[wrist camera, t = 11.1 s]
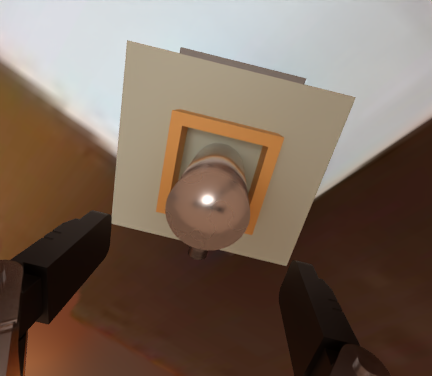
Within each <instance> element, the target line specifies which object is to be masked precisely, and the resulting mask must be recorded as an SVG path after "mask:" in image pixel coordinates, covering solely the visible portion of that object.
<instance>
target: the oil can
mask: <svg viewBox="0 0 432 376" xmlns="http://www.w3.org/2000/svg"><path fill="white" fill-rule="evenodd" d="M165 214H166V219H167V222H168V225H169V227H170V229H171V230H172V232H173V233H174V234H175V235H176V237H178V238H179V239H180V240H181V241H182V242H184V243H185V244H187V245H189V251H188V254H189V256H190V257H192V258H193V259H196V260H202V259H204V258H206V255H207V251H208V250H219V249H223V248H226V247H228V246H230V245H232V244H234V243H235V242H236V241H238V240H239V239H240V238H241V237H242V235H243V234H244V233H245V231H246V229H247V227H248V225H249V221H250V206H249V199H248V192H247V185H246V178H245V171H244V164H243V160H242V158H241V156H240V154H239V153H238V152H237V151H236V150H235V149H234V148H233V147H231V146H229V145H227V144H223V143H212V144H209V145H207V146H205V147H203V148H202V149H201V150H200V151H199V152H198V153H197V154H196V156H195V157H194V159H193V160H192V162H191V163H190V164H189V166H188V167H187V169H186V170H185V172H184V173H183V174H182V176H181V177H180V179H179V180H178V182H177V183H176V184H175V186H174V187H173V189H172V190H171V192H170V194H169V196H168V198H167V201H166V207H165Z"/></svg>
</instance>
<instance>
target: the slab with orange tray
mask: <svg viewBox="0 0 432 376" xmlns="http://www.w3.org/2000/svg"><path fill="white" fill-rule="evenodd" d="M305 80H306V78H302V77H298V76H294V75H290V74H286V73H282V72H278V71H274V70H270V69H266V68H262V67H258V66H254V65H250V64H246V63H242V62H238V61H234V60H230V59H226V58H222V57H218V56H214V55H210V54H206V53H202V52H198V51H194V50H190V49H186V48H182V47H181V48H180V53H176V52H172V51H168V50H164V49H160V48H156V47H152V46H148V45H144V44H140V43H136V42H132V41H128V40H127V49H126V60H125V71H124V83H123V94H122V106H121V117H120V128H119V140H118V151H117V163H116V174H115V185H114V197H113V208H112V224H116V225H120V226H124V227H128V228H132V229H136V230H140V231H145V232H149V233H153V234H157V235H161V236H165V237H169V238H173V239H177V240H180V239H179V238H178V237H176V235H175V234H174V233H173V232H172V230H171V229H170V227H169V225H168V222H167V219H166V214H165V207H166V201H167V198H168V196H169V194H170V192H171V190H172V189H173V187H174V186H175V184H176V183H177V182H178V180H179V179H180V177H181V176H182V174H183V173H184V172H185V170H186V169H187V167H188V166H189V164H190V163H191V162H192V160H193V159H194V157H195V156H196V154H197V153H198V152H199V151H200V150H201V149H202V148H203V147H205V146H207V145H209V144H212V143H223V144H227V145H229V146H231V147H233V148H234V149H235V150H236V151H237V152H238V153H239V154H240V156H241V158H242V160H243V164H244V171H245V178H246V185H247V192H248V199H249V206H250V221H249V225H248V227H247V229H246V231H245V233H244V234H243V235H242V237H241V238H240V239H239V240H238V241H236V242H235V243H234V244H232V245H230V246H228V247H226V248H223V249H219V250H223V251H227V252H231V253H235V254H239V255H243V256H247V257H251V258H255V259H260V260H264V261H268V262H272V263H276V264H280V265H284V266H287V264H288V261H289V259H290V256H291V254H292V251H293V249H294V246H295V244H296V242H297V239H298V237H299V234H300V232H301V229H302V227H303V225H304V222H305V220H306V217H307V215H308V212H309V210H310V208H311V205H312V203H313V200H314V198H315V195H316V193H317V190H318V188H319V186H320V183H321V181H322V178H323V176H324V173H325V171H326V169H327V166H328V164H329V161H330V159H331V156H332V154H333V151H334V149H335V147H336V144H337V142H338V139H339V137H340V134H341V132H342V130H343V127H344V125H345V122H346V120H347V117H348V115H349V113H350V110H351V108H352V105H353V103H354V100H355V98H356V97H352V96H348V95H344V94H340V93H336V92H332V91H328V90H324V89H320V88H316V87H312V86H308V85H304V83H305Z"/></svg>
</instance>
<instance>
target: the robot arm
mask: <svg viewBox="0 0 432 376" xmlns="http://www.w3.org/2000/svg"><path fill="white" fill-rule="evenodd" d="M111 223H112V217H111V215H110V214H105V213H101V212H97V211H90V212H89V213H88V214H86V215H85V216H84V217H82V218H81V219H73V220H71V221H68V222H65V223H63V224H61V225H60V226H58V227H57V228H55V229H54V230H53V231H52V232H50V233H48V234H47V235H45V236H44V238H41V239H40V240H38V241H37V242H35V243H34V244H32V245H31V246H30V247H28V248H27V249H25V250H24V251H22V252H21V253H20V254H18V255H17V256H15V257H14V258H12V259H11V260H0V376H25V366H26V353H27V340H28V329H29V328H30V327H31V326H32V325H33V324H34V323H35V321H36V322H40V323H45V324H49V323H50V322H51V321H52V320H53V318H55V316H56V315H57V314H58V313H59V312H60V311H61V309H62V308H63V307H64V306H65V305H66V303H67V302H68V301H69V300H70V299H71V298H72V296H73V295H74V294H75V293H76V292H77V290H78V289H79V288H80V287H81V286H82V285H83V283H84V282H85V281H86V280H87V279H88V277H89V276H90V275H91V274H92V273H93V272H94V270H95V269H96V268H97V267H98V266H99V264H100V263H101V262H102V261H103V260H104V258H105V257H106V255H107V253H108V250H109V246H110V236H111ZM279 304H280V309H281V314H282V319H283V323H284V328H285V333H286V338H287V342H288V347H289V352H290V357H291V362H292V366H293V371H294V376H391V375H390V373H389V371H388V370H387V368H386V367H385V366H384V364H383V363H382V362H381V361H380V360H379V359H378V358H377V357H376V356H375V355H373V354H372V353H371V352H369V351H368V350H366V349H365V348H363V347H361V346H360V345H359V343H358V341H357V339H356V337H355V335H354V333H353V331H352V329H351V327H350V325H349V323H348V321H347V319H346V317H345V315H344V313H343V312H342V309H341V307H340V305H339V303H337V299H336V297H335V295H334V293H333V291H332V289H331V288H330V287H329V286H328V285H327V284H326V283H325V282H324V281H323V279H319V278H318V276H317V274H316V272H315V270H314V267H313V266H312V265H311V264H307V263H303V262H299V261H295V260H293V261H292V262H291V264H290V266H289V269H288V271H287V273H286V276H285V278H284V281H283V283H282V286H281V288H280V292H279Z"/></svg>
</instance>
